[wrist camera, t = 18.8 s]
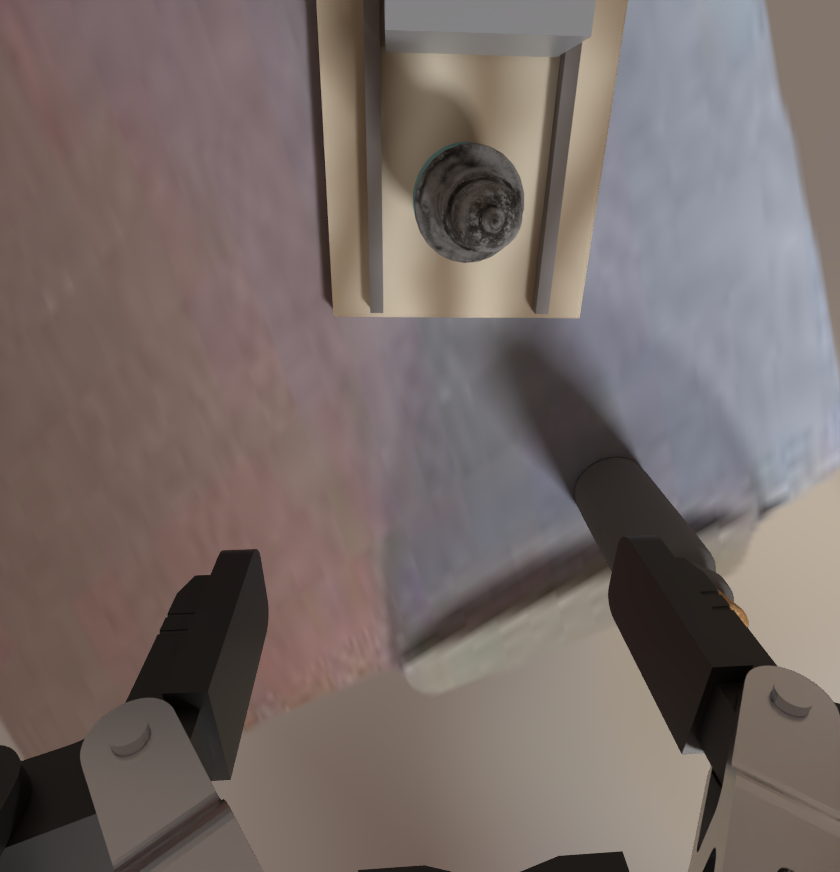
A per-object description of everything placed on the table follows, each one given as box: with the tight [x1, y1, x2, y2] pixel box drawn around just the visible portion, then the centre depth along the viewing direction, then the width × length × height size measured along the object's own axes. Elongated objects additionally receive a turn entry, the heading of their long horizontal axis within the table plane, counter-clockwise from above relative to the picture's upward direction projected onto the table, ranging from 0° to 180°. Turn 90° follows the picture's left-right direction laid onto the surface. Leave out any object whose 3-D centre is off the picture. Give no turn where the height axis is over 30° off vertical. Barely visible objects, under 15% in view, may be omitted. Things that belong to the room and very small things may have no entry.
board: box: [316, 0, 628, 318], centre depth 31 cm, size 16×20×2 cm
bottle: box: [574, 458, 749, 628], centre depth 37 cm, size 6×6×15 cm
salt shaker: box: [414, 143, 524, 263], centre depth 27 cm, size 6×6×12 cm
